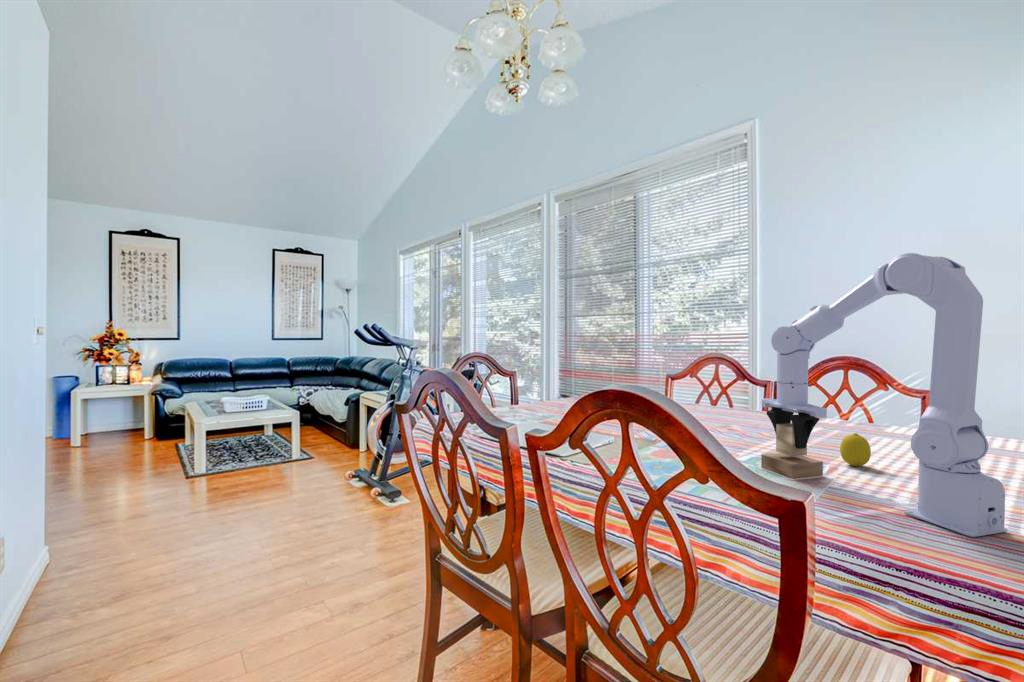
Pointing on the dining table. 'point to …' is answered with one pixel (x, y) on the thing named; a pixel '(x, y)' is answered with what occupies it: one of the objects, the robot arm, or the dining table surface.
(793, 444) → the maple pillar
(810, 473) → the walnut slab
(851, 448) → the lemon
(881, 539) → the dining table surface
